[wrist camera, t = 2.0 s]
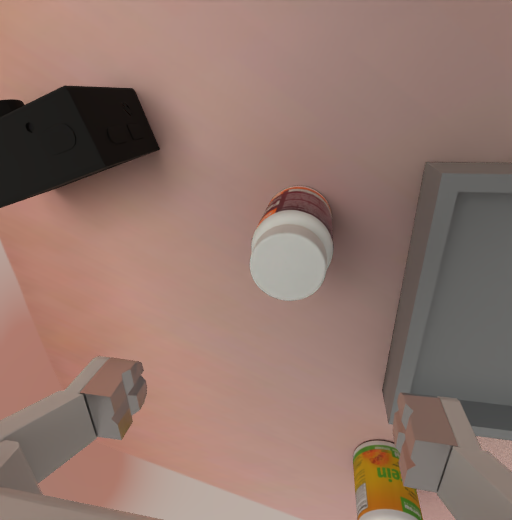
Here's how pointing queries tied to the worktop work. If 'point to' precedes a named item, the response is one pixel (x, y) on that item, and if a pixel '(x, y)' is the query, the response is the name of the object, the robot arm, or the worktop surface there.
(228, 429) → the worktop surface
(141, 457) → the worktop surface
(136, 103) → the digital camera
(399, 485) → the supplement bottle
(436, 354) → the tray
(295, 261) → the pill bottle
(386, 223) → the worktop surface
